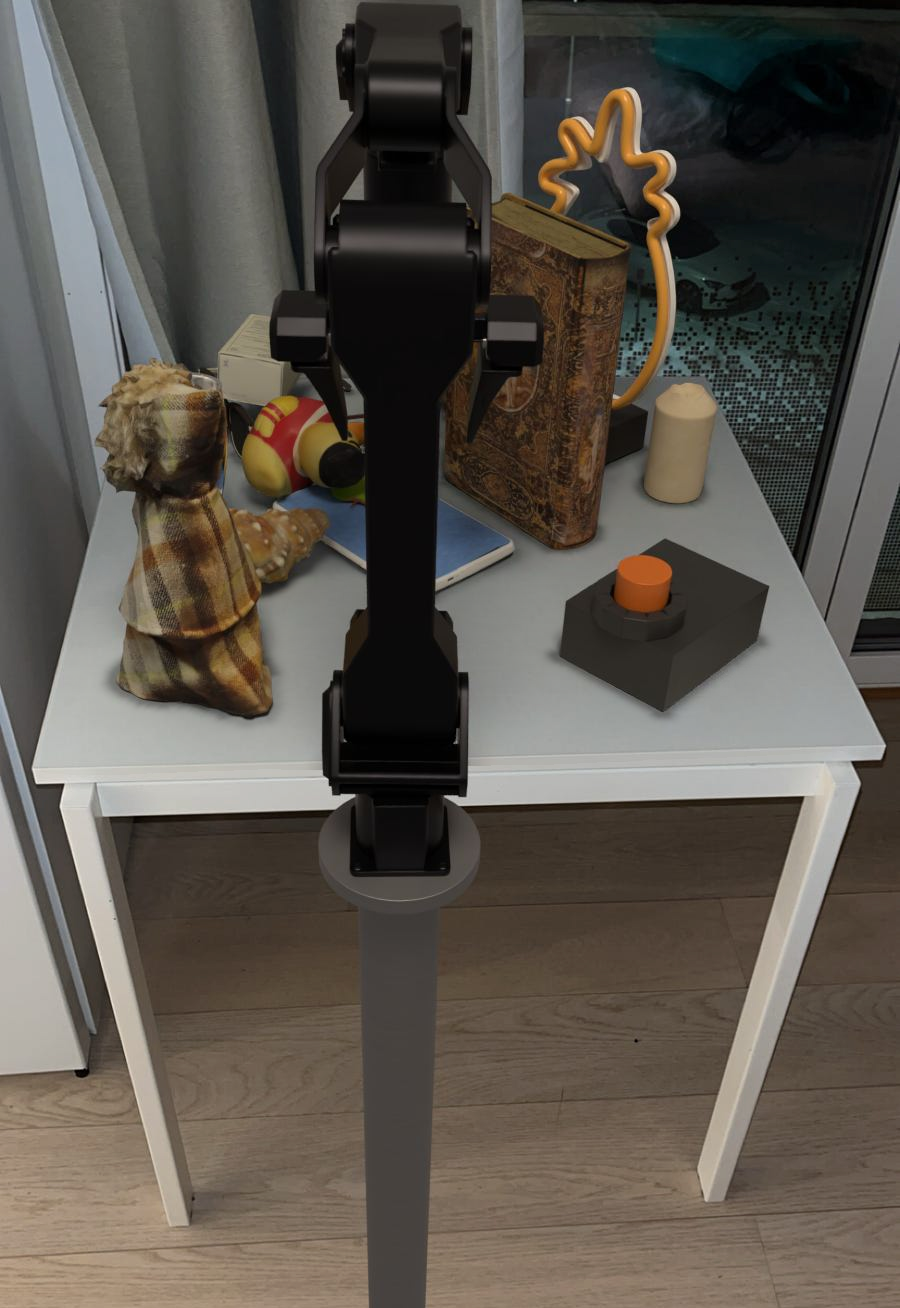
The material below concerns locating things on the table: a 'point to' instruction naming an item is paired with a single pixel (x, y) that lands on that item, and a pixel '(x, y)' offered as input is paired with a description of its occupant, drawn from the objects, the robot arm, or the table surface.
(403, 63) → the robot arm
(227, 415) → the sunglasses
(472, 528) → the tablet
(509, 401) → the book
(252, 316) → the cosmetic box
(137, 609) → the brown cream tall piece
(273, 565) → the seashell
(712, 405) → the candle
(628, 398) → the lamp
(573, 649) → the button base
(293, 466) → the toy
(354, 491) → the decorative leaf
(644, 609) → the power button
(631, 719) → the table surface
